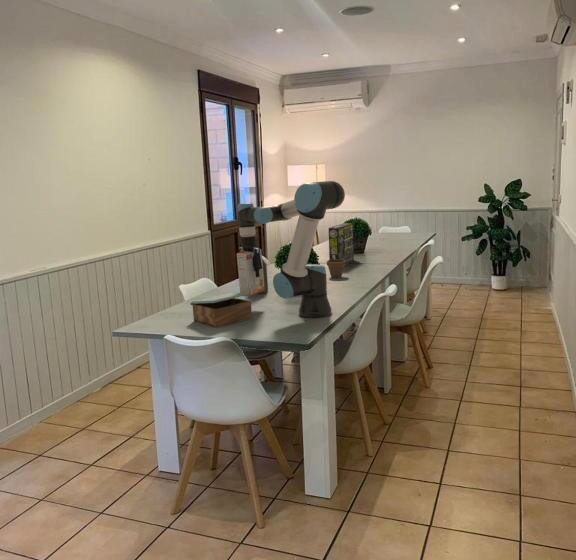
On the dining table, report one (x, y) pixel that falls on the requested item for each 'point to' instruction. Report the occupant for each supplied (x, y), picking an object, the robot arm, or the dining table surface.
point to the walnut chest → (222, 312)
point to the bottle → (263, 272)
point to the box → (341, 242)
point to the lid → (221, 298)
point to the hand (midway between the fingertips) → (251, 283)
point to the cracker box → (249, 274)
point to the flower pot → (336, 267)
